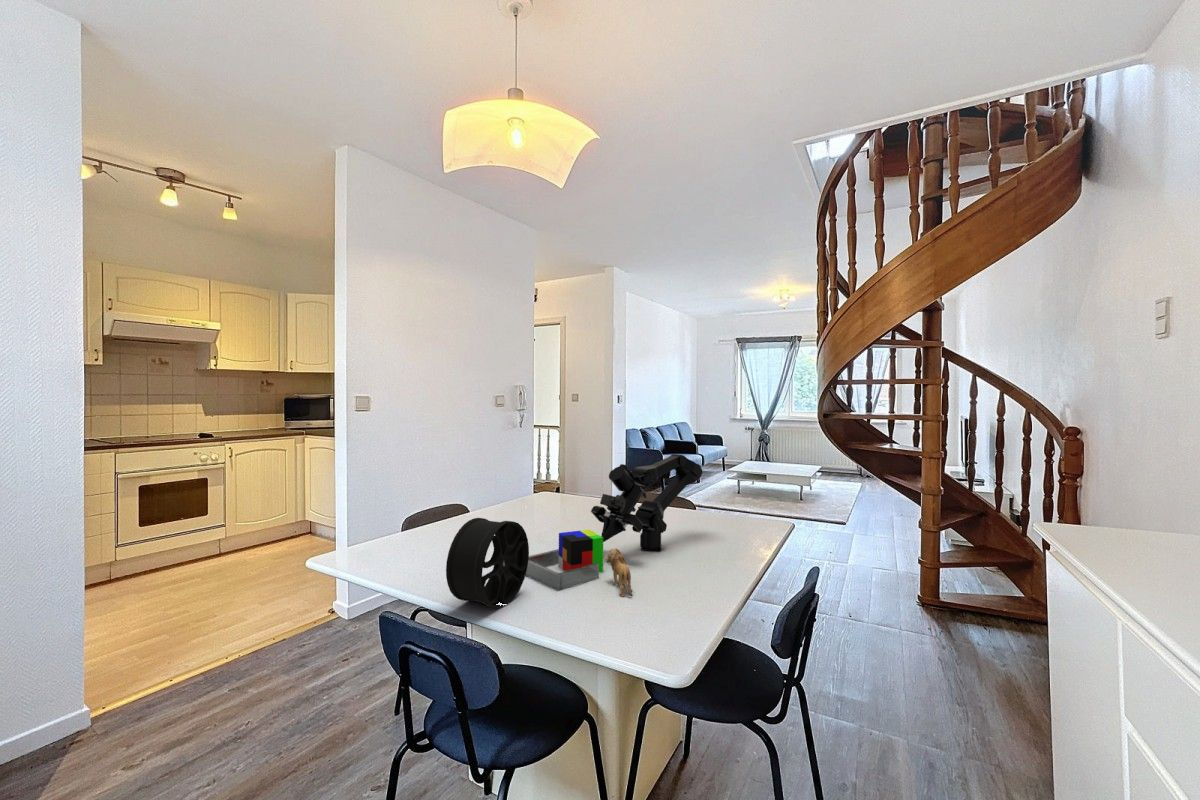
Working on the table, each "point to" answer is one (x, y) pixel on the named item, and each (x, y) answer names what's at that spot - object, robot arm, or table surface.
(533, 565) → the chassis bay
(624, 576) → the lion figurine
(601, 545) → the puzzle toy
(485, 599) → the car wheel rim
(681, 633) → the table surface
